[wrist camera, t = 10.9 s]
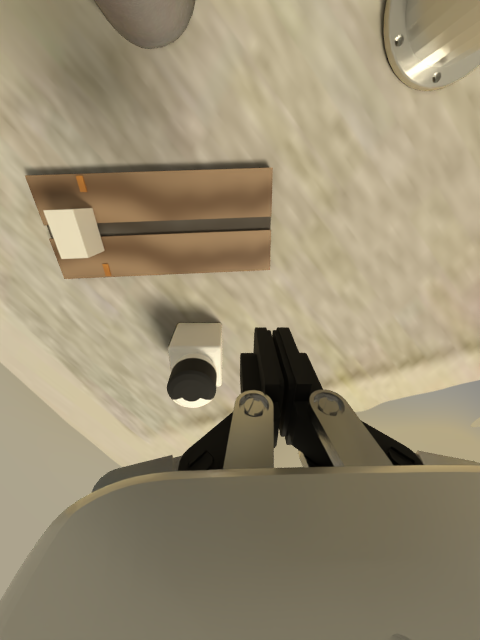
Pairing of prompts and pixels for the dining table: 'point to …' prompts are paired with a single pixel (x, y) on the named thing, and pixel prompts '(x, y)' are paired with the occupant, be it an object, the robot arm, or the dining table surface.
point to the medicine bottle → (195, 363)
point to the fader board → (166, 220)
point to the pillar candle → (148, 19)
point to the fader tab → (75, 232)
